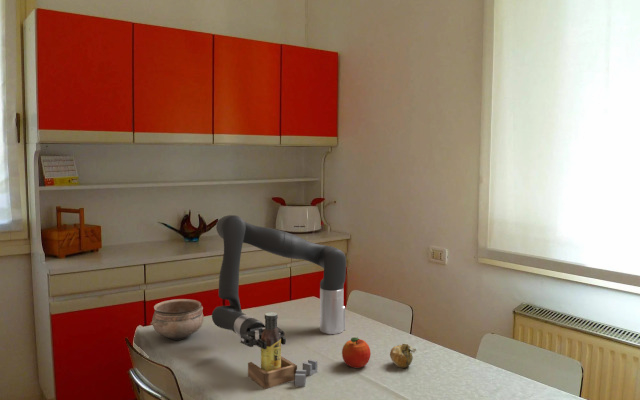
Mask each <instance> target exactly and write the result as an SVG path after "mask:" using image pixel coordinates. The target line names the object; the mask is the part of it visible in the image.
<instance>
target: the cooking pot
mask: <svg viewBox="0 0 640 400" xmlns="http://www.w3.org/2000/svg"><path fill="white" fill-rule="evenodd" d="M153 308H154V309H153V310H154V313H153V315H152V319H151V320H152V321H151V322H150V325H152V327H153V328H154V331H156V333H158V334H159V335H161V336H163V337H165V338H169V339H170V340H172V341H173V340H175V341H179V340H184V339H187V338H188V337H189V336H191V335H193V334H194V333H196V332H198V330H199V329H200V328H201V327H202V326H203V323H204V319H205V318H204V314H203V309H204V307H203V305H202V303H201V302H200V301H199V300H196V299H189V298H188V299H187V298H177V299H176V298H175V299H170V300H164V301H161V302H159V303H155V305H154V306H153Z"/></svg>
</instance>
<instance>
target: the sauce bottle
mask: <svg viewBox="0 0 640 400" xmlns="http://www.w3.org/2000/svg"><path fill="white" fill-rule="evenodd" d="M278 319H279V318H278V313H277V312H275V311H274V312H273V311H270V312H266V313H264V326H265V329H264V331H263V333H262V336H261V339H262V340H263V341H265V342H266V343H267V349H262V348H260V368H261V369H263V370H264V371H266V372H269V371H272V370H276V369H280V368H281V356H282V344H281V337H280V334H279V331H278V328H279V327H278ZM277 327H278V328H277Z"/></svg>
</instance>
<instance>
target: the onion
mask: <svg viewBox="0 0 640 400" xmlns="http://www.w3.org/2000/svg"><path fill="white" fill-rule="evenodd" d="M416 351H417V349H416V348H415V347H412V346H411V345H409V344H408V343H402V344H398V345H396V346H393V347H392V348H391V349H390V353H389V357H390V359H391V361H392V363H394V365H395V366H396V367H398V368H402V369H404V368H408V367H409V366H410V365H411V363H412V361H413V358H414V357H413V353H416Z"/></svg>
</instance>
